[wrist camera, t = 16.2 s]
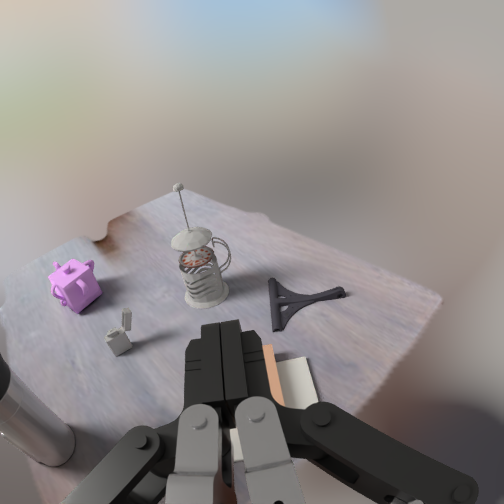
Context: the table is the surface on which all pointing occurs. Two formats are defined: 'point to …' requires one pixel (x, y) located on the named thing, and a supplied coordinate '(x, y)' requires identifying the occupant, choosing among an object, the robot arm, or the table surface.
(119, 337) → the lighter
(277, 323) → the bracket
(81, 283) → the teapot
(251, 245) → the table surface
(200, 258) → the french press
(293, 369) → the mat
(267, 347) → the tile
